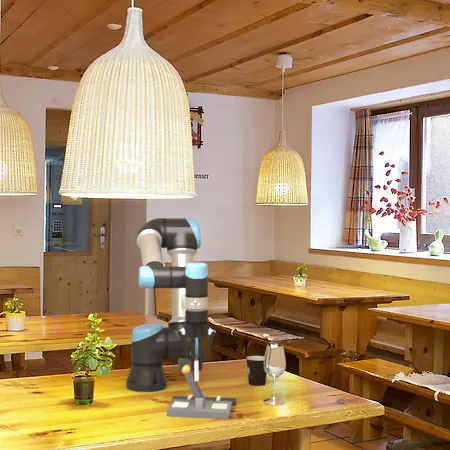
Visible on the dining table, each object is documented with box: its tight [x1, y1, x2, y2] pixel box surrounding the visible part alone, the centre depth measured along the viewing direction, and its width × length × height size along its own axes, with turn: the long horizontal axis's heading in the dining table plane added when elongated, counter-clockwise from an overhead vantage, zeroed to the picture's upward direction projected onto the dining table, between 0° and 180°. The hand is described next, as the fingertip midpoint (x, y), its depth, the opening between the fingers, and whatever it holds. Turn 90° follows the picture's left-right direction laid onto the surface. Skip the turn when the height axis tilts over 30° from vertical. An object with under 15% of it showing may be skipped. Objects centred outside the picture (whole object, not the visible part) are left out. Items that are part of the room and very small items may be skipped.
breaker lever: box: [181, 364, 203, 399], centre depth 250 cm, size 3×4×13 cm, turn 174°
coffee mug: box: [245, 355, 267, 387], centre depth 291 cm, size 12×9×10 cm
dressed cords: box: [171, 394, 237, 406], centre depth 260 cm, size 22×5×2 cm, turn 85°
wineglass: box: [262, 343, 287, 406], centre depth 263 cm, size 8×8×20 cm
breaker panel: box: [166, 392, 233, 420], centre depth 249 cm, size 20×14×5 cm
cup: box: [177, 357, 198, 374], centre depth 305 cm, size 8×8×10 cm
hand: (196, 380), depth 250 cm, fingers closed
